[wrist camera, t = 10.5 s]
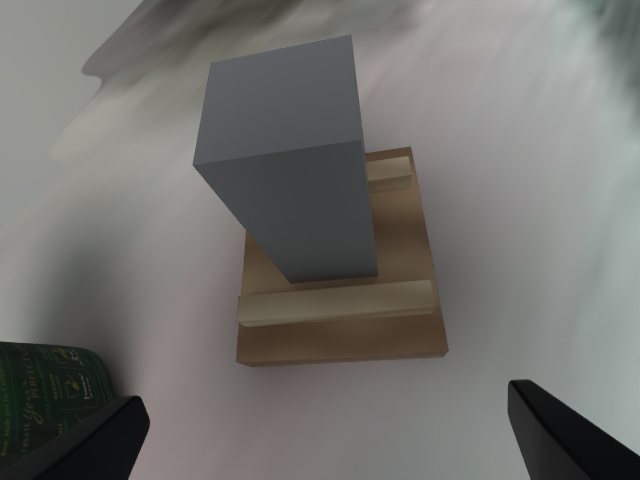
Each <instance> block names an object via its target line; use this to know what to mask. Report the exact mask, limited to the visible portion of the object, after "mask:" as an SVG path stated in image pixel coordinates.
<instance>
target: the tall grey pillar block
mask: <svg viewBox="0 0 640 480" xmlns="http://www.w3.org/2000/svg"><path fill="white" fill-rule="evenodd" d="M193 166H194V167H195V169H196V170H197V171H198V172H199V173H200V175H201V176H202V177H203V178H204V179H205V181H206V182H207V183H208V184H209V186H210V187H211V188H212V189H213V190H214V192H215V193H216V194H217V195H218V196H219V198H220V199H221V200H222V201H223V202H224V204H225V205H226V206H227V207H228V209H229V210H230V211H231V212H232V213H233V215H234V216H235V217H236V218H237V219H238V221H239V222H240V223H241V224H242V226H243V227H244V228H245V229H246V230H247V232H248V233H249V234H250V235H251V236H252V238H253V239H254V240H255V241H256V242H257V244H258V245H259V246H260V247H261V249H262V250H263V251H264V252H265V253H266V255H267V256H268V257H269V258H270V259H271V261H272V262H273V263H274V264H275V266H276V267H277V268H278V269H279V270H280V272H281V273H282V274H283V275H284V276H285V278H286V279H287V280H288V281H289V283H290V284H294V283H306V282H317V281H329V280H341V279H352V278H364V277H376V276H378V267H377V257H376V247H375V237H374V227H373V218H372V208H371V199H370V191H369V182H368V174H367V165H366V157H365V148H364V140H363V131H362V123H361V114H360V106H359V97H358V89H357V80H356V71H355V63H354V54H353V46H352V37H351V35H347V36H342V37H337V38H332V39H327V40H322V41H317V42H312V43H307V44H302V45H297V46H292V47H287V48H282V49H277V50H272V51H267V52H262V53H257V54H252V55H247V56H243V57H238V58H233V59H228V60H223V61H218V62H213V63H211V65H210V71H209V76H208V82H207V88H206V93H205V99H204V104H203V110H202V116H201V121H200V127H199V132H198V138H197V143H196V149H195V155H194V160H193Z"/></svg>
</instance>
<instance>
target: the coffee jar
mask: <svg viewBox="0 0 640 480" xmlns="http://www.w3.org/2000/svg"><path fill="white" fill-rule="evenodd" d="M116 400H117V399H116V396H115V392H114V389H113V386H112V383H111V380H110V378H109V375H108V373H107V370H106V368H105V366H104V364H103V362H102V360H101V359H100V358H99V356H98V355H97V354H95V353H94V352H92V351H90V350H87V349H83V348H77V347H68V346H59V345H47V344H30V343H14V342H0V473H1V472H3V471H4V470H6V469H7V468H9V467H11V466H12V465H14V464H15V463H17V462H18V461H20V460H22V459H23V458H25V457H26V456H28V455H30V454H31V453H33V452H34V451H36V450H38V449H39V448H41V447H42V446H44V445H46V444H47V443H49V442H50V441H52V440H54V439H55V438H57V437H58V436H60V435H62V434H63V433H65V432H66V431H68V430H70V429H71V428H73V427H74V426H76V425H78V424H79V423H81V422H82V421H84V420H86V419H87V418H89V417H90V416H92V415H93V414H95V413H97V412H98V411H100V410H101V409H103V408H105V407H106V406H108V405H109V404H111V403H113V402H114V401H116Z"/></svg>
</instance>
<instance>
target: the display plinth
mask: <svg viewBox="0 0 640 480" xmlns="http://www.w3.org/2000/svg"><path fill="white" fill-rule="evenodd" d="M365 157H366V165H367V174H368V182H369V191H370V199H371V208H372V218H373V227H374V237H375V247H376V257H377V267H378V276H376V277H364V278H352V279H341V280H329V281H317V282H306V283H294V284H290V283H289V281H288V280H287V279H286V278H285V276H284V275H283V274H282V273H281V272H280V270H279V269H278V268H277V267H276V266H275V264H274V263H273V262H272V261H271V259H270V258H269V257H268V256H267V255H266V253H265V252H264V251H263V250H262V249H261V247H260V246H259V245H258V244H257V242H256V241H255V240H254V239H253V238H252V236H251V235H250V234H249V233H248V232H247V230H246V242H245V255H244V268H243V280H242V293H241V296H239V299H238V311H237V322H238V323H239V332H238V345H237V357H236V362H238V363H241V364H244V365H247V366H251V367H258V366H277V365H296V364H315V363H334V362H353V361H372V360H391V359H410V358H429V357H443V356H444V355H445V354H446V353H447V352H448V344H447V339H446V333H445V328H444V323H443V317H442V312H441V306H440V301H439V296H438V290H437V285H436V279H435V274H434V269H433V263H432V258H431V252H430V247H429V242H428V236H427V231H426V225H425V220H424V215H423V209H422V204H421V198H420V193H419V188H418V182H417V177H416V171H415V166H414V161H413V155H412V150H411V147H405V148H399V149H392V150H385V151H378V152H372V153H365Z"/></svg>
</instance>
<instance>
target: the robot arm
mask: <svg viewBox="0 0 640 480" xmlns="http://www.w3.org/2000/svg"><path fill="white" fill-rule="evenodd" d="M508 416H509V420H510V423H511V426H512V428H513V431H514V434H515V437H516V440H517V442H518V445H519V448H520V451H521V454H522V456H523V459H524V462H525V465H526V467H527V470H528V473H529V476H530V479H531V480H640V456H639V455H638V454H636V453H635V452H633V451H632V450H630V449H629V448H628V447H626V446H625V445H623V444H622V443H620V442H619V441H618V440H616V439H615V438H613V437H612V436H610V435H609V434H607V433H606V432H605V431H603V430H602V429H600V428H599V427H597V426H596V425H595V424H593V423H592V422H590V421H589V420H587V419H586V418H584V417H583V416H582V415H580V414H579V413H577V412H576V411H574V410H573V409H572V408H570V407H569V406H567V405H566V404H564V403H563V402H561V401H560V400H559V399H557V398H556V397H554V396H553V395H551V394H550V393H549V392H547V391H546V390H544V389H543V388H541V387H540V386H538V385H537V384H536V383H534V382H533V381H531V380H527V379H523V380H511V381H510V382H509V384H508ZM149 427H150V419H149V416H148V414H147V411H146V408H145V406H144V403H143V401H142V399H141V397H139V396H137V395H133V396H123V397H121V398H119V399H117V400H116V401H114V402H113V403H111V404H109V405H108V406H106V407H105V408H103V409H101V410H100V411H98V412H97V413H95V414H93V415H92V416H90V417H89V418H87V419H86V420H84V421H82V422H81V423H79V424H78V425H76V426H74V427H73V428H71V429H70V430H68V431H66V432H65V433H63V434H62V435H60V436H58V437H57V438H55V439H54V440H52V441H50V442H49V443H47V444H46V445H44V446H42V447H41V448H39V449H38V450H36V451H34V452H33V453H31V454H30V455H28V456H26V457H25V458H23V459H22V460H20V461H18V462H17V463H15V464H14V465H12V466H11V467H9V468H7V469H6V470H4V471H3V472H1V473H0V480H128V478H129V476H130V474H131V471H132V469H133V466H134V464H135V462H136V459H137V457H138V454H139V452H140V450H141V447H142V445H143V443H144V440H145V438H146V435H147V433H148V430H149Z"/></svg>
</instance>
